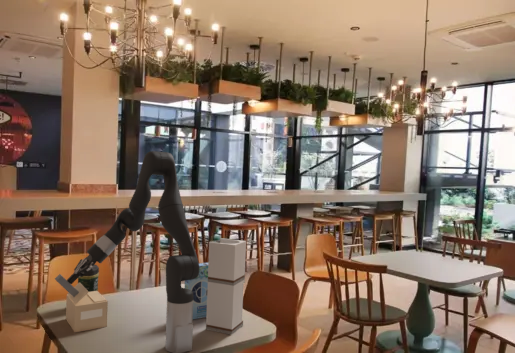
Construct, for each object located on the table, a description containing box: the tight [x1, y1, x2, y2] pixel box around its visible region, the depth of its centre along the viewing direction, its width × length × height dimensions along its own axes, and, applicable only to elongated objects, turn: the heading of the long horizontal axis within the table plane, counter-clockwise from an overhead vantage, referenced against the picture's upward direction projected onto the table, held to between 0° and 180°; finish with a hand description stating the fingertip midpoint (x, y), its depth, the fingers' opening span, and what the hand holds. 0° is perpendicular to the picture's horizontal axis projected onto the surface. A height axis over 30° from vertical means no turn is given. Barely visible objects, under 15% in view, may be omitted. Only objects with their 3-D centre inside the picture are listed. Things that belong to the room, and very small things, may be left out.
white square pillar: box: [205, 237, 247, 336], centre depth 168 cm, size 11×11×35 cm
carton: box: [65, 290, 109, 333], centre depth 168 cm, size 16×12×10 cm
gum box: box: [184, 261, 208, 320], centre depth 182 cm, size 20×5×23 cm, turn 123°
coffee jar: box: [77, 264, 100, 292], centre depth 186 cm, size 10×8×19 cm
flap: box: [54, 273, 89, 304], centre depth 164 cm, size 14×6×11 cm
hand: (68, 282), depth 164 cm, fingers closed
